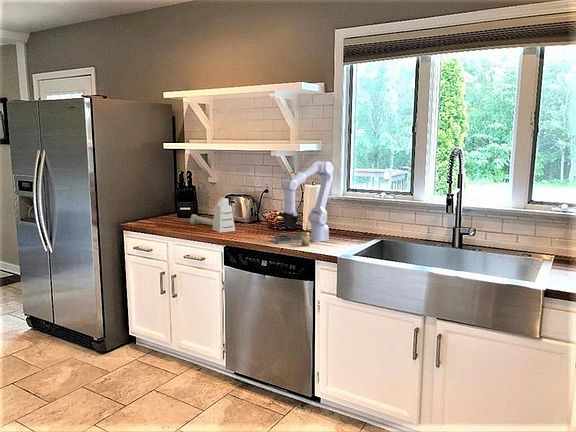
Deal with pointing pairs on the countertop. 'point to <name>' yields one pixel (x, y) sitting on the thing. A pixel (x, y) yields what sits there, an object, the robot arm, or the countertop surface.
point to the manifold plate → (287, 238)
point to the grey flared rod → (195, 219)
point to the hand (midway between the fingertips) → (289, 227)
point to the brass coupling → (305, 238)
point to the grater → (223, 216)
